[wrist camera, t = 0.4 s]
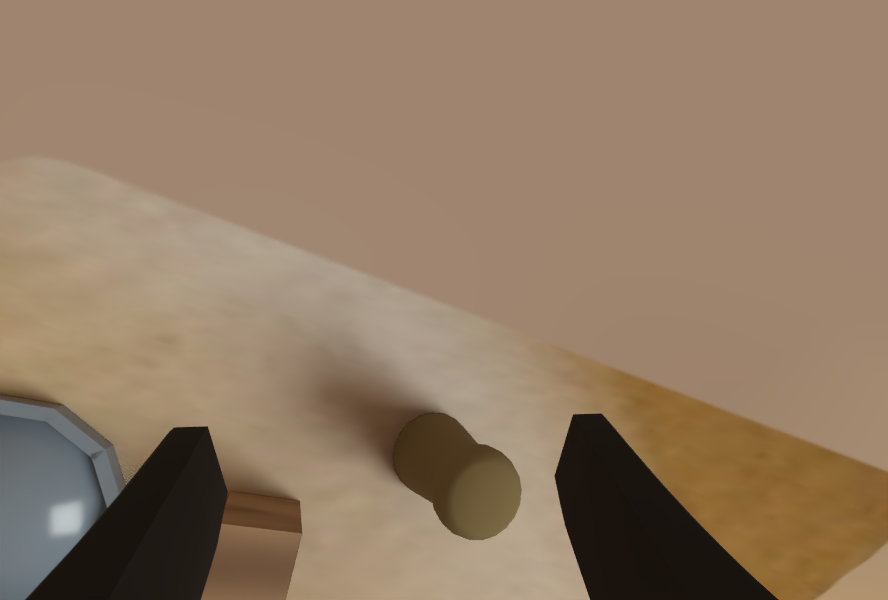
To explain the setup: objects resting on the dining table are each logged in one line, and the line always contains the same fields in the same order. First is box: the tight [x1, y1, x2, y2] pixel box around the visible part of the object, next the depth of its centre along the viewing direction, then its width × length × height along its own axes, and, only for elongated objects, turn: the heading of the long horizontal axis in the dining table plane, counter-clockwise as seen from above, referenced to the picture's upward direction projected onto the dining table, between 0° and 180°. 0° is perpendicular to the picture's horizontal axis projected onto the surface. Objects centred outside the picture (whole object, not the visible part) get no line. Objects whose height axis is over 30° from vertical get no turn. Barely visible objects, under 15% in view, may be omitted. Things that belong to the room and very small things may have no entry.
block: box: [201, 491, 302, 600], centre depth 32 cm, size 5×5×6 cm
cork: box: [393, 413, 522, 540], centre depth 33 cm, size 6×6×11 cm
